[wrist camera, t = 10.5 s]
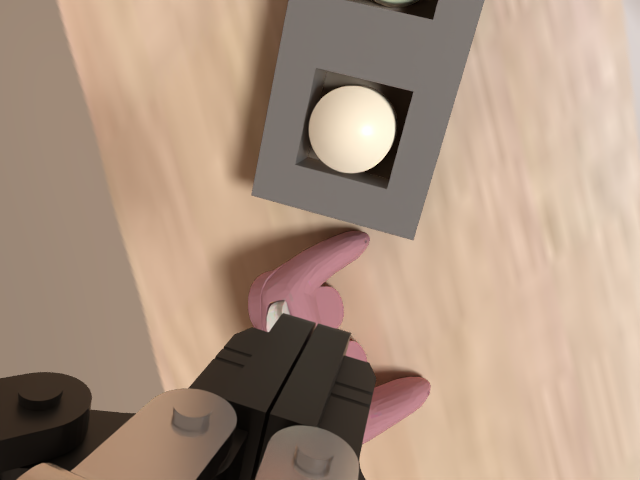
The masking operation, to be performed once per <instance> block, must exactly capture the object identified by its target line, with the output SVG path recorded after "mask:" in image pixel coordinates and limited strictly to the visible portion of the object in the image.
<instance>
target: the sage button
mask: <svg viewBox="0 0 640 480" xmlns="http://www.w3.org/2000/svg"><path fill="white" fill-rule="evenodd" d="M374 1H376V2H377V3H379V4H381V5H384V6H387V7H405V6H408V5H411V4H413V3H416V2H417V1H419V0H374Z"/></svg>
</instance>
